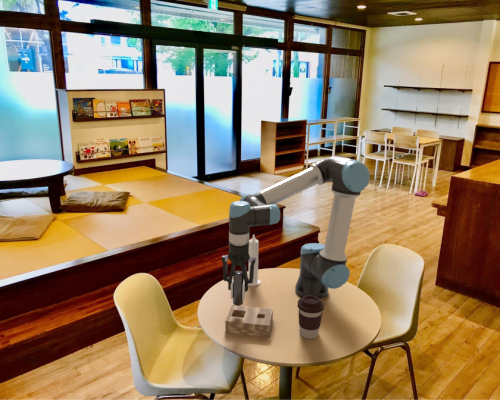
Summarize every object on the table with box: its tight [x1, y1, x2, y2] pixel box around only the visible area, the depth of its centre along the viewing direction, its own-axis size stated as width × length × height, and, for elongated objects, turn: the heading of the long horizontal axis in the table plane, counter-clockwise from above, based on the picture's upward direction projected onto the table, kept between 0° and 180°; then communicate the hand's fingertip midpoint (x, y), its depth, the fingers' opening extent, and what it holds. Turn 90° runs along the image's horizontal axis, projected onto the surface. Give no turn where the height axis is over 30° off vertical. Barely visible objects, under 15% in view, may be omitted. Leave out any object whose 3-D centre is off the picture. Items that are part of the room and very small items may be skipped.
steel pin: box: [232, 270, 244, 306], centre depth 164 cm, size 4×4×13 cm
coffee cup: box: [297, 295, 325, 340], centre depth 161 cm, size 10×10×15 cm
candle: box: [247, 234, 261, 287], centre depth 199 cm, size 7×7×25 cm
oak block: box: [224, 304, 274, 338], centre depth 167 cm, size 17×12×5 cm
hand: (238, 297), depth 165 cm, fingers closed on steel pin, 4 cm apart
